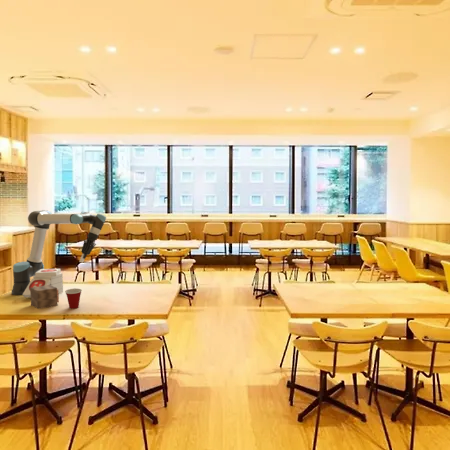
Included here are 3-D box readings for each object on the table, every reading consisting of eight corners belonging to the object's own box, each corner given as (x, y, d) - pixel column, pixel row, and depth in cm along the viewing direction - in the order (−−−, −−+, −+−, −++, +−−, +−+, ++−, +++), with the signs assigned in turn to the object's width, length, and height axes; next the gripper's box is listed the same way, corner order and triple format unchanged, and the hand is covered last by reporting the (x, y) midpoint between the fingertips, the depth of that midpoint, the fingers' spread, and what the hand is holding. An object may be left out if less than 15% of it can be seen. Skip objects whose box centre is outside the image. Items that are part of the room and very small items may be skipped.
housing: (49, 301, 314) (49, 284, 313) (57, 305, 304) (56, 287, 303) (31, 305, 305) (30, 287, 304) (38, 308, 295) (37, 290, 294)
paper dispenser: (20, 299, 321) (19, 275, 319) (45, 290, 350) (44, 268, 348) (43, 301, 316) (42, 276, 315) (67, 291, 346) (66, 268, 344)
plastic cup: (64, 310, 291) (63, 292, 290) (66, 306, 302) (66, 288, 301) (81, 309, 293) (80, 291, 292) (83, 305, 304) (82, 288, 303)
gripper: (102, 236, 335) (89, 265, 330) (92, 233, 343) (80, 261, 338) (95, 233, 329) (82, 262, 325) (85, 230, 337) (72, 258, 333)
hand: (81, 262), depth 332 cm, fingers closed
